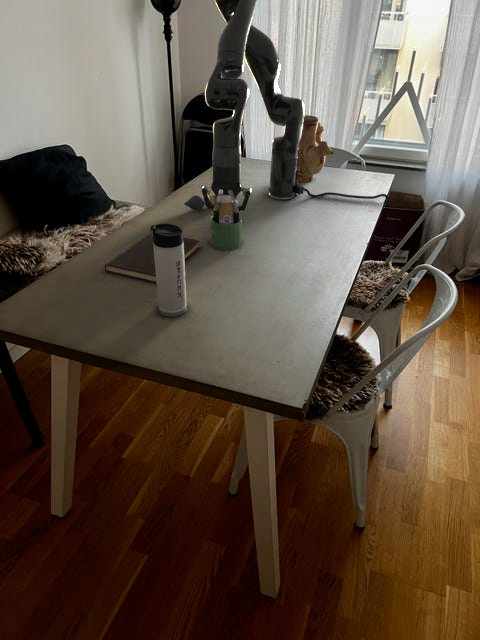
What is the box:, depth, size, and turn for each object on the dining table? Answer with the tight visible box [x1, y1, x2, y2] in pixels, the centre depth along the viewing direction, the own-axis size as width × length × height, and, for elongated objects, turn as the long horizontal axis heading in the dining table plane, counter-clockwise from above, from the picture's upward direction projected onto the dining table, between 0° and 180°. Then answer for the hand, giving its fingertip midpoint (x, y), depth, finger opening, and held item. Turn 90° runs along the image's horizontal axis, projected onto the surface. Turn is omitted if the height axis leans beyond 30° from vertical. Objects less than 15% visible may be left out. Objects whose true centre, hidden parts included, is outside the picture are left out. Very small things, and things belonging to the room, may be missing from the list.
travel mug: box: [149, 223, 188, 318], centre depth 100 cm, size 6×7×20 cm
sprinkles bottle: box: [219, 195, 234, 224], centre depth 132 cm, size 5×5×13 cm
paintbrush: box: [183, 194, 217, 211], centre depth 160 cm, size 20×5×5 cm, turn 134°
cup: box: [209, 215, 243, 251], centre depth 134 cm, size 9×9×8 cm
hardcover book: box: [104, 231, 201, 284], centre depth 126 cm, size 16×23×2 cm
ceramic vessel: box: [297, 113, 335, 182], centre depth 183 cm, size 18×19×25 cm
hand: (226, 223), depth 133 cm, fingers closed on sprinkles bottle, 4 cm apart
